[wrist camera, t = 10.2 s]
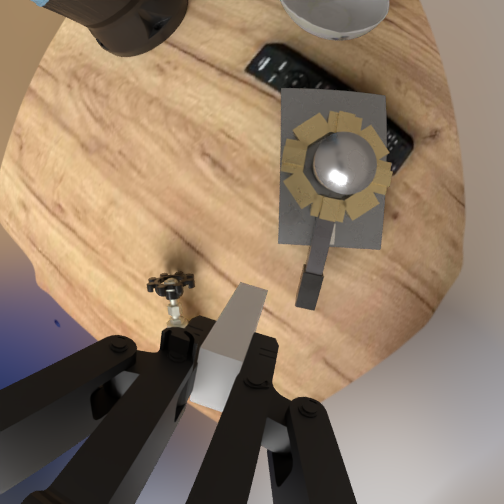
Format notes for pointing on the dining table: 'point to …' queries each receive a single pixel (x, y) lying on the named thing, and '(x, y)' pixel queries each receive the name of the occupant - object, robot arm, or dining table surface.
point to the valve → (172, 294)
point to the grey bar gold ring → (324, 205)
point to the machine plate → (288, 205)
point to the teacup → (337, 16)
